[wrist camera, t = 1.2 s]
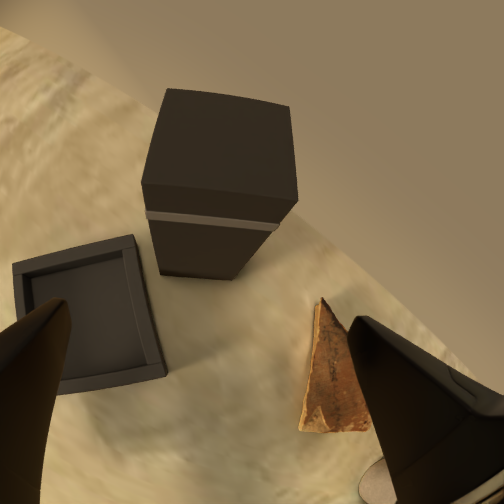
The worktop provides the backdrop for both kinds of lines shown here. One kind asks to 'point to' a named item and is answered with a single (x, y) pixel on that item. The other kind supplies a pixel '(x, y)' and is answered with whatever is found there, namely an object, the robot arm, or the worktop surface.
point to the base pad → (96, 312)
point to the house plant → (377, 485)
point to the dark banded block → (216, 181)
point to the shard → (332, 381)
